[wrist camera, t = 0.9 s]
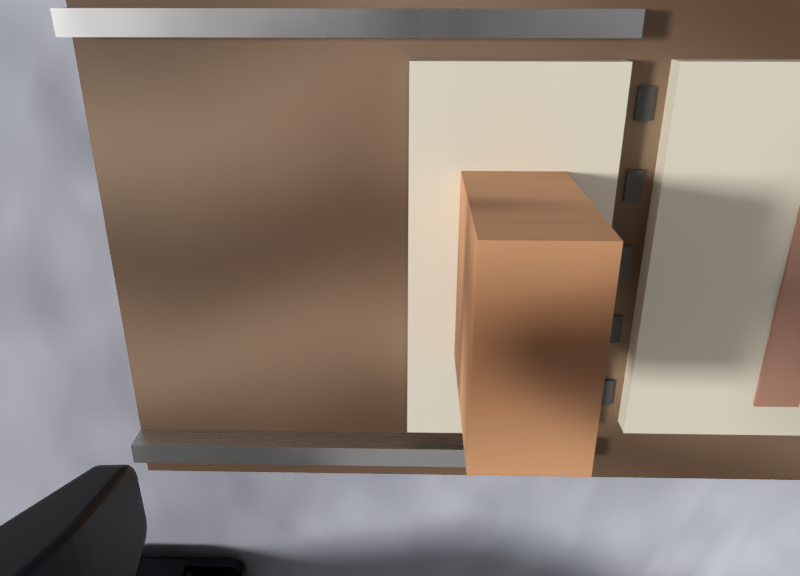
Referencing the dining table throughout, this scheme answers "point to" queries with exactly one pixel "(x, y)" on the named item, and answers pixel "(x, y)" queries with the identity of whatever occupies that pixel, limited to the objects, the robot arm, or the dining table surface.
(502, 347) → the stub
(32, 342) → the dining table surface
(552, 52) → the ticket board
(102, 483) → the robot arm
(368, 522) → the dining table surface
